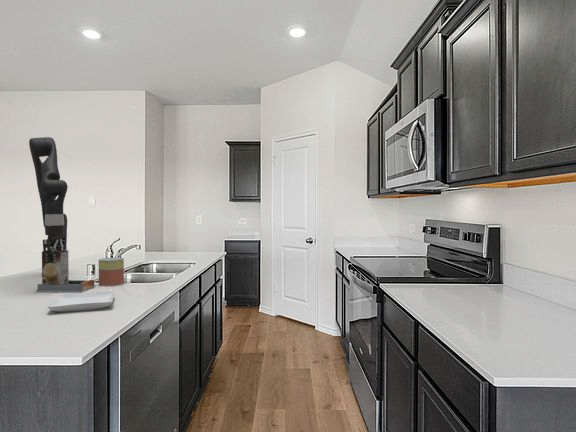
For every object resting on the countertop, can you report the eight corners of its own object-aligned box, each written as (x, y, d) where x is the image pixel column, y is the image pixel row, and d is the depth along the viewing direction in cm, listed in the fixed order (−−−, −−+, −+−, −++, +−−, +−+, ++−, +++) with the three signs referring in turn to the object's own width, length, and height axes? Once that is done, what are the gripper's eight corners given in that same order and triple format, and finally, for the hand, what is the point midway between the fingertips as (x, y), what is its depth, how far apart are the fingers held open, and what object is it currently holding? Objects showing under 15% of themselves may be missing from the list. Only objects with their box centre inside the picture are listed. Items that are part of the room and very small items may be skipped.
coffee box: (41, 287, 184) (40, 251, 184) (50, 284, 191) (50, 249, 190) (60, 287, 183) (60, 251, 183) (69, 285, 190) (69, 249, 189)
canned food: (128, 281, 205) (128, 257, 205) (116, 286, 194) (116, 260, 194) (106, 281, 206) (106, 257, 206) (93, 285, 195) (93, 260, 195)
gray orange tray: (52, 286, 193) (52, 278, 193) (95, 287, 192) (94, 278, 192) (36, 292, 181) (36, 283, 181) (81, 292, 180) (81, 283, 180)
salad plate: (56, 302, 164) (56, 293, 164) (114, 298, 172) (114, 290, 171) (46, 316, 144) (46, 306, 144) (113, 310, 152) (112, 301, 152)
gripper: (56, 223, 193) (56, 259, 194) (36, 225, 179) (36, 263, 180) (71, 223, 193) (72, 259, 194) (53, 225, 179) (53, 263, 179)
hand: (55, 261), depth 187 cm, fingers closed on coffee box, 6 cm apart
